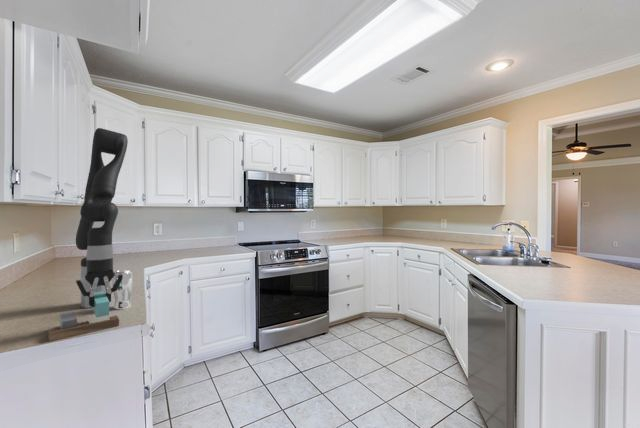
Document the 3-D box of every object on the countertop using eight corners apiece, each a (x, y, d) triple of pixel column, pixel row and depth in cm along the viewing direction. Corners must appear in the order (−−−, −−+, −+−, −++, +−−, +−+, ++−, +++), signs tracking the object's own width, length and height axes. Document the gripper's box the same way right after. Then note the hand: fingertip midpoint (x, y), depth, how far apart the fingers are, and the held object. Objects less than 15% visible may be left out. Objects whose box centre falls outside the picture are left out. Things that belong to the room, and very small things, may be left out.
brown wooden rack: (48, 336, 91) (48, 329, 91) (116, 321, 104) (116, 315, 104) (48, 341, 88) (48, 333, 88) (118, 325, 101) (118, 318, 101)
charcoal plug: (59, 327, 100) (59, 312, 100) (73, 324, 102) (73, 310, 102) (62, 337, 92) (62, 321, 92) (76, 334, 94) (77, 319, 94)
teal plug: (90, 304, 106) (91, 291, 105) (102, 302, 108) (103, 289, 108) (96, 317, 98) (96, 303, 97) (108, 314, 100) (109, 301, 100)
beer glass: (129, 303, 125) (129, 269, 125) (134, 307, 120) (135, 271, 120) (110, 307, 119) (110, 271, 119) (115, 311, 115) (115, 274, 115)
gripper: (75, 261, 95) (75, 312, 95) (125, 256, 105) (126, 303, 105) (72, 258, 100) (73, 307, 100) (121, 254, 110) (121, 298, 110)
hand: (100, 304), depth 102 cm, fingers closed on teal plug, 3 cm apart
